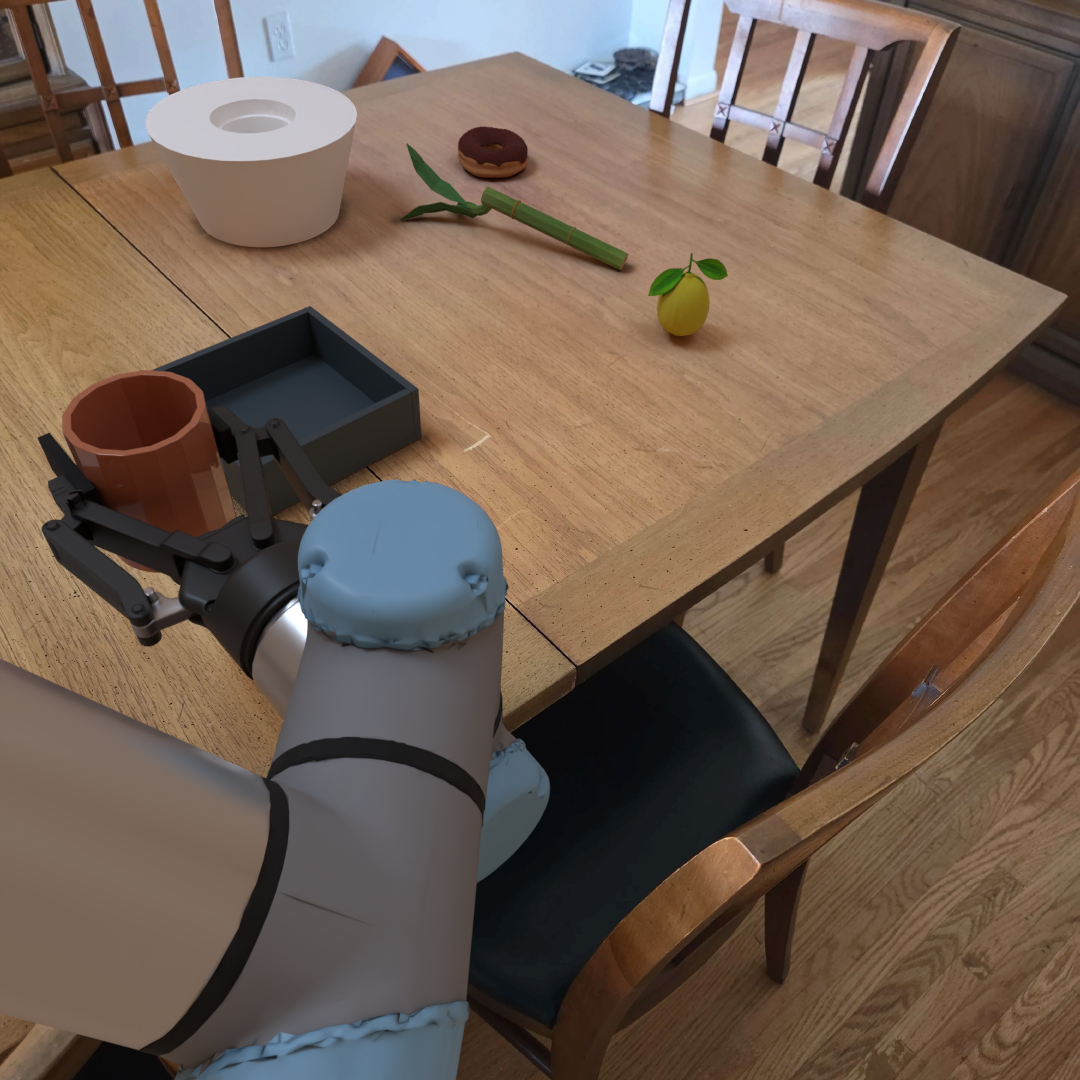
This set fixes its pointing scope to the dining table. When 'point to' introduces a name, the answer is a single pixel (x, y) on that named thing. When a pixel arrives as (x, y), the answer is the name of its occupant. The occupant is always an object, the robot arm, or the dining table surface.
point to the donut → (492, 152)
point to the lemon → (685, 296)
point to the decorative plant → (512, 215)
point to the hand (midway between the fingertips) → (117, 423)
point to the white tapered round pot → (257, 156)
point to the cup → (151, 452)
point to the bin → (307, 397)
